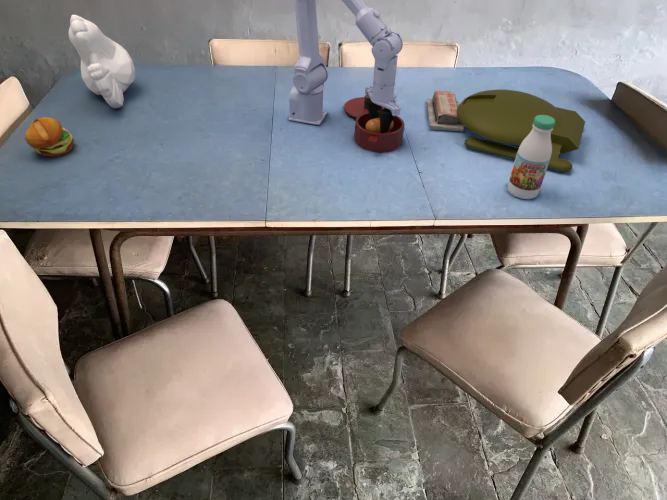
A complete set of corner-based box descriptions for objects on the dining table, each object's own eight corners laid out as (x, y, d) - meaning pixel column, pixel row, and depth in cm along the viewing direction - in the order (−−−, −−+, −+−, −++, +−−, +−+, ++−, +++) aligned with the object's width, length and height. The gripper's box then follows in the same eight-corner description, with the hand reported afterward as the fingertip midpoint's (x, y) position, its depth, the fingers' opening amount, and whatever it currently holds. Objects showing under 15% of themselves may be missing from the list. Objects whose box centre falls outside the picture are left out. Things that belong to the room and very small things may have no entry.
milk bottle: (502, 182, 140) (523, 110, 127) (531, 182, 141) (555, 110, 128) (512, 200, 134) (535, 127, 121) (542, 199, 135) (568, 126, 122)
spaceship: (582, 126, 165) (593, 95, 158) (569, 176, 143) (582, 143, 137) (468, 100, 175) (474, 71, 169) (440, 143, 154) (446, 111, 148)
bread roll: (370, 139, 150) (371, 125, 147) (361, 132, 153) (363, 118, 150) (395, 133, 153) (397, 118, 151) (387, 126, 156) (388, 112, 153)
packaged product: (428, 88, 170) (460, 90, 170) (425, 102, 173) (457, 104, 173) (431, 115, 156) (466, 117, 156) (429, 130, 160) (463, 132, 159)
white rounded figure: (89, 56, 175) (43, 8, 150) (137, 47, 174) (99, -2, 150) (95, 129, 170) (49, 92, 146) (145, 119, 170) (107, 81, 145)
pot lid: (338, 117, 164) (339, 102, 161) (350, 97, 174) (351, 83, 171) (385, 125, 161) (387, 110, 158) (394, 104, 172) (396, 90, 168)
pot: (346, 152, 149) (347, 134, 145) (363, 120, 163) (364, 103, 159) (395, 160, 146) (397, 142, 143) (407, 128, 160) (409, 111, 157)
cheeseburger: (85, 142, 148) (70, 113, 140) (62, 169, 142) (44, 141, 134) (54, 134, 150) (37, 105, 142) (30, 161, 144) (10, 132, 136)
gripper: (412, 89, 140) (406, 137, 149) (381, 68, 150) (377, 114, 159) (389, 94, 137) (384, 142, 146) (359, 73, 147) (356, 119, 156)
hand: (379, 128), depth 152 cm, fingers closed on bread roll, 4 cm apart
